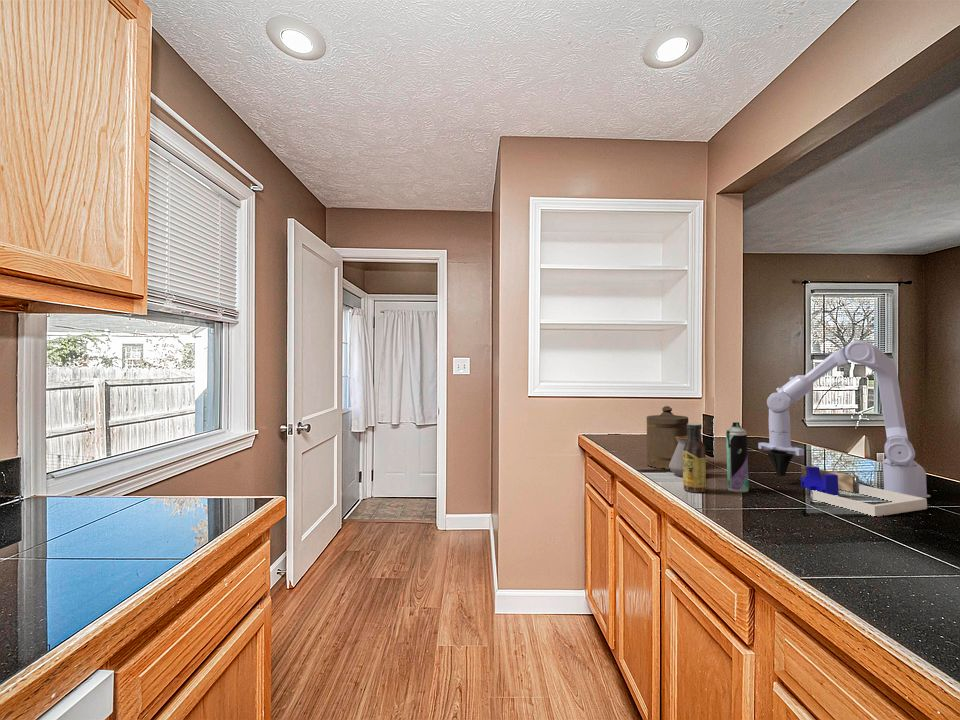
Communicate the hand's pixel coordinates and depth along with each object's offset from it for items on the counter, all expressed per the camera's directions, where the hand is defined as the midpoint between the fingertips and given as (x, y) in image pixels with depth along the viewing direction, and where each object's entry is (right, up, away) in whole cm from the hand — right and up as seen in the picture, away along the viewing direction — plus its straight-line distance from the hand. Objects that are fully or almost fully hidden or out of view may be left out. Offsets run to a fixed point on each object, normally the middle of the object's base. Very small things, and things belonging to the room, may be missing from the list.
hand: (781, 475), depth 156 cm
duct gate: (+11, -2, -5) cm, 12 cm away
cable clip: (+5, -3, -10) cm, 11 cm away
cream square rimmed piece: (+8, -2, -24) cm, 26 cm away
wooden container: (-23, -4, +31) cm, 39 cm away
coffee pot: (-24, -3, +10) cm, 26 cm away
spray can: (-17, -3, -7) cm, 18 cm away
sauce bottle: (-29, -3, -6) cm, 30 cm away
